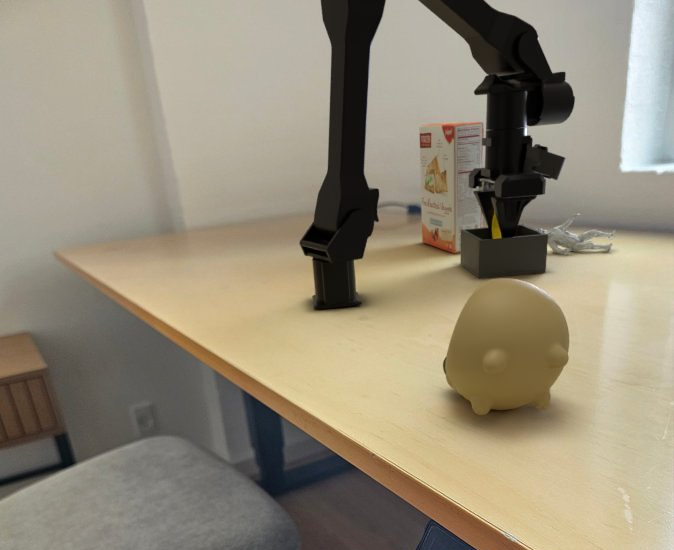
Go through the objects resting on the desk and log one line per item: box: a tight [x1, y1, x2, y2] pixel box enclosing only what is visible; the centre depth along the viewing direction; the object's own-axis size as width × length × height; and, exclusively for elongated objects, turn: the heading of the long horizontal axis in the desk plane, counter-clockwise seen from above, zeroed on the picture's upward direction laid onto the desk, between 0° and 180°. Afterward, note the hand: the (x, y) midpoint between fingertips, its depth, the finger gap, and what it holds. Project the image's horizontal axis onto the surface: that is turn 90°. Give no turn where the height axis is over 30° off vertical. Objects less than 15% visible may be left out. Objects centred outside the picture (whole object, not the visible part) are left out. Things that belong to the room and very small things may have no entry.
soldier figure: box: [537, 212, 616, 255], centre depth 110 cm, size 8×5×12 cm
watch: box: [492, 211, 501, 239], centre depth 100 cm, size 6×3×6 cm, turn 7°
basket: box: [460, 223, 548, 280], centre depth 102 cm, size 11×10×6 cm
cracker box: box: [419, 121, 485, 254], centre depth 118 cm, size 14×6×21 cm, turn 17°
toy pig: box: [442, 277, 570, 416], centre depth 54 cm, size 10×12×11 cm
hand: (501, 241), depth 101 cm, fingers closed on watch, 6 cm apart
